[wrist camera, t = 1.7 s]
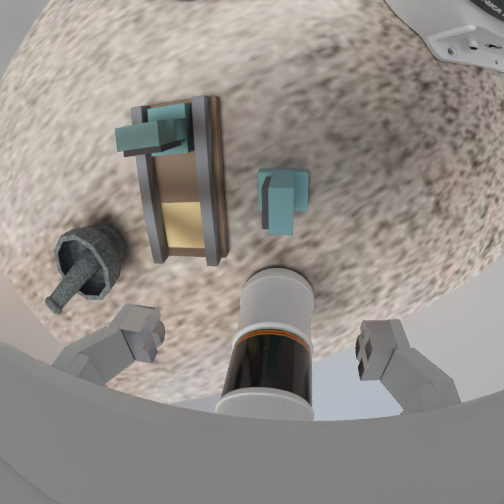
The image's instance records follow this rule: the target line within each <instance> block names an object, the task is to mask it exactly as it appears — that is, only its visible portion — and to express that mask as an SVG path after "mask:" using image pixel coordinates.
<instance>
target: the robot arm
mask: <svg viewBox="0 0 504 504" xmlns="http://www.w3.org/2000/svg"><path fill="white" fill-rule="evenodd" d="M385 1H386V3H387V4H388V5H389V7H390V8H391V9H392V10H393V11H394V13H395V14H396V15H397V16H398V17H399V18H400V19H401V20H402V21H403V22H405V23H406V24H407V25H408V26H409V27H411V28H412V29H413V30H414V31H415V32H417V33H418V34H419V35H420V36H421V37H422V39H423V40H424V42H425V43H426V45H427V47H428V48H429V50H430V51H431V53H432V54H433V55H434V56H435V58H437V59H438V60H440V61H443V62H451V63H458V64H464V65H470V66H475V67H480V68H485V69H490V70H494V71H498V72H502V73H504V0H385ZM448 50H449V51H450V53H451V55H450V54H449V53H448ZM160 317H161V314H160V311H159V309H157V308H153V307H147V306H141V305H133V304H125V305H124V306H123V307H122V309H121V310H120V311H119V313H118V314H117V316H116V317H115V318H114V320H113V321H112V322H111V324H110V325H109V326H108V327H106V326H105V327H103V328H101V329H99V330H97V331H95V332H94V333H92V334H90V335H88V336H86V337H84V338H82V339H80V340H78V341H76V342H74V343H72V344H70V345H68V346H67V347H65V348H64V349H63V350H62V352H61V353H60V354H59V356H58V357H57V359H56V360H55V361H54V363H53V364H52V365H49V364H47V363H45V362H42V361H40V360H39V359H36V358H34V357H32V356H30V355H28V354H27V353H24V352H23V351H21V350H19V349H17V348H15V347H14V346H12V345H10V344H8V343H6V342H0V504H504V390H502V391H499V392H496V393H494V394H490V395H487V396H484V397H481V398H478V399H474V400H471V401H467V402H463V403H461V401H460V398H459V395H458V392H457V389H456V387H455V384H454V381H453V379H452V378H451V377H449V376H448V375H447V374H446V373H444V372H443V371H442V370H441V369H439V368H438V367H437V366H436V365H435V364H433V363H432V362H431V361H430V360H428V359H427V358H426V357H425V356H423V355H422V354H421V353H420V352H418V351H417V350H416V349H414V348H410V345H409V342H408V340H407V337H406V335H405V332H404V330H403V327H402V324H401V322H400V320H399V319H393V320H363V322H362V324H361V327H360V329H361V334H360V335H359V336H358V338H357V341H356V358H357V360H358V361H360V364H359V366H358V370H359V376H360V380H362V381H363V380H380V381H381V383H382V384H383V385H384V386H385V387H386V388H387V390H388V391H389V392H390V393H391V394H392V396H393V397H394V398H395V399H396V401H397V402H398V403H399V404H400V405H401V407H402V408H403V409H404V410H403V411H402V413H401V414H400V415H398V416H390V417H382V418H371V419H359V420H341V421H288V420H270V419H257V418H246V417H238V416H230V415H222V414H215V413H208V412H203V411H197V410H192V409H187V408H182V407H177V406H172V405H168V404H164V403H160V402H155V401H151V400H148V399H144V398H140V397H137V396H133V395H130V394H126V393H123V392H120V391H117V390H113V389H110V388H108V387H107V386H106V383H107V382H108V381H110V380H111V379H112V378H113V377H115V376H116V375H117V374H119V373H120V372H121V371H123V370H124V369H125V368H127V367H128V366H129V365H131V364H132V363H133V362H134V361H135V360H136V361H141V362H147V363H153V361H154V359H155V357H156V355H157V353H158V351H157V347H159V346H160V345H162V343H163V341H164V337H165V327H164V324H163V323H162V322H161V321H160V320H159V318H160Z"/></svg>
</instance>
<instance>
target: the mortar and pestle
mask: <svg viewBox="0 0 504 504" xmlns="http://www.w3.org/2000/svg"><path fill="white" fill-rule="evenodd" d="M54 253H55V258H56V262H57V267H58V271H59V272H60V274H61V275H62V277H63V280H62V281H61V282H60V284H59V285H58V286H57V288H56V289H55V291H54V292H53V293H52V295H51V296H49V297H47V298H46V300H45V303H46V305H47V306H48V307H49V309H50V310H51V311H52V312H54V313H55V314H57V315H59V314H60V313H61V312H62V308H63V307H64V306H65V305H66V303H67V302H68V301H69V300H70V299H71V298H72V297H73V296H74V295H75V294H76V293H78V294H80V295H81V296H83V297H84V298H86V299H91V300H102V299H103V298H104V297H105V296H106V295H107V294H108V292H109V291H110V290H111V288H112V287H113V286H114V284H115V283H116V281H117V280H118V278H119V276H120V269H121V266H120V261H121V260H122V258H123V257H124V256H125V249H124V242H123V240H122V239H121V237H120V236H119V234H118V232H117V231H116V230H114V229H112V228H111V227H109V226H107V225H103V226H97V227H89V226H88V227H82V228H77V229H73V230H71V231H68V232H66V233H65V234H63V235H62V236H60V238H59V240H58V243H57V245H56V248H55V250H54Z"/></svg>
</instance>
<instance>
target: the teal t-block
mask: <svg viewBox="0 0 504 504" xmlns="http://www.w3.org/2000/svg"><path fill="white" fill-rule="evenodd" d="M308 179H309V173H308V170H307V169H259V171H258V196H259V210H262V229H269V234H271V235H293V215H294V211H307V210H308Z"/></svg>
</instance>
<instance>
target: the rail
mask: <svg viewBox="0 0 504 504" xmlns="http://www.w3.org/2000/svg"><path fill="white" fill-rule="evenodd" d="M131 115H132V125H130V126H125V127H121V128H116V129H115V134H116V143H117V152H120V151H123V152H124V157H129V156H136V164H137V171H138V178H139V185H140V192H141V198H142V204H143V210H144V215H145V221H146V226H147V231H148V236H149V241H150V246H151V251H152V255H153V260H154V263H160V264H163V263H164V262H165V260H166V259H167V258H168V257H169V256H194V257H206V261H207V266H218V264H219V262H220V260H221V258H226V257H227V255H228V253H229V247H228V235H227V222H226V208H225V194H224V180H223V164H222V147H221V130H220V110H219V97H216V96H213V97H208V96H197V97H192V99H188V100H181V101H174V102H168V103H162V104H156V105H151V106H138V107H134V108H131Z"/></svg>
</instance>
